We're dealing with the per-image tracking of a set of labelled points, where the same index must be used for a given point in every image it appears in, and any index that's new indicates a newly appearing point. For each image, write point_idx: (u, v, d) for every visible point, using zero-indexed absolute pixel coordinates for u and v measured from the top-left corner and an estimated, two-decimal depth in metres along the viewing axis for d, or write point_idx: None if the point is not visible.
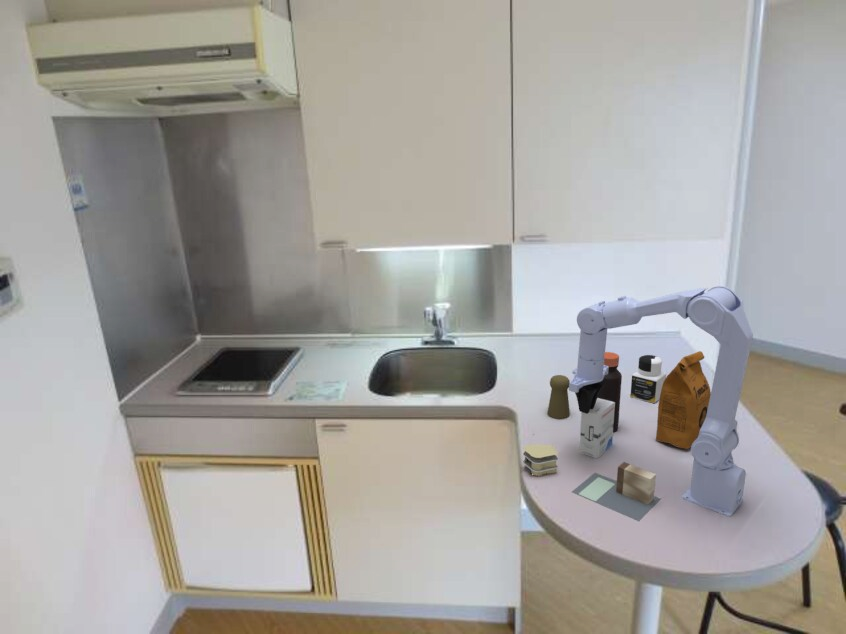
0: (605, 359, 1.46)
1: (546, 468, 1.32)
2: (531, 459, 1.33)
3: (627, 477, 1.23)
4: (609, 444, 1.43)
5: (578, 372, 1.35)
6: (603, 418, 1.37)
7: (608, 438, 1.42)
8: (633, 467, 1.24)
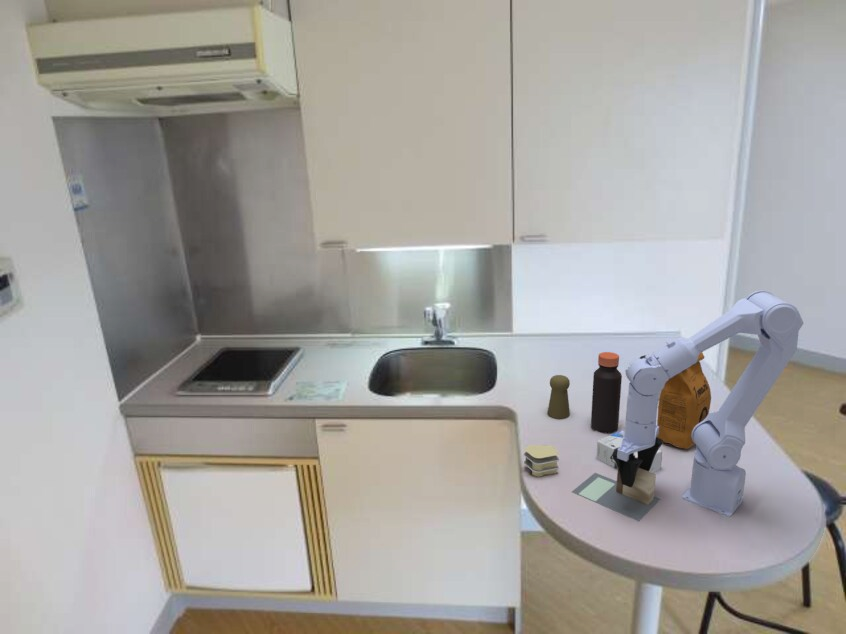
0: (605, 359, 1.46)
1: (547, 468, 1.32)
2: (532, 460, 1.32)
3: None
4: None
5: (626, 436, 1.19)
6: None
7: None
8: None
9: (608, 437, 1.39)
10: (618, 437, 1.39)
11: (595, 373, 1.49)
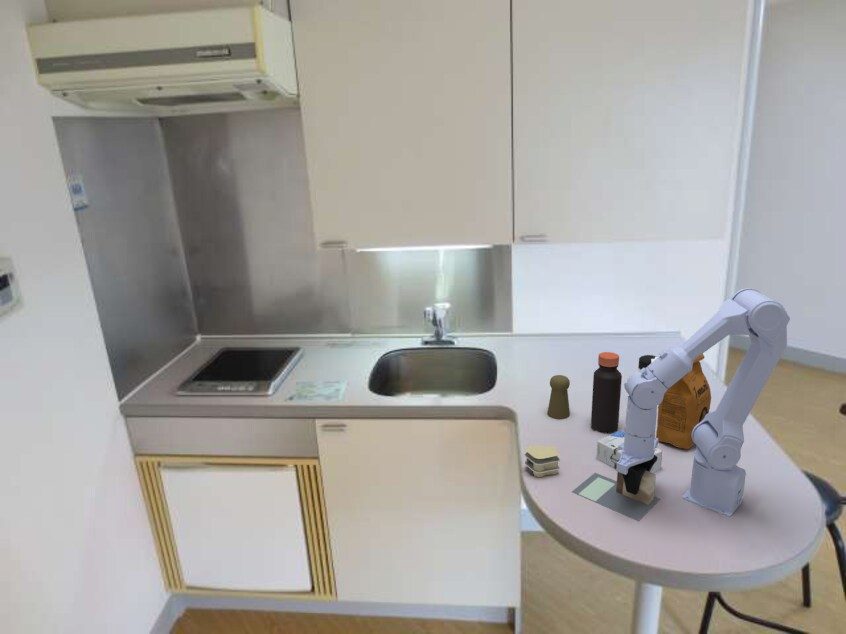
0: (605, 359, 1.46)
1: (548, 469, 1.32)
2: (533, 460, 1.32)
3: None
4: None
5: (625, 449, 1.20)
6: None
7: None
8: None
9: (608, 437, 1.39)
10: (618, 437, 1.39)
11: (595, 373, 1.49)
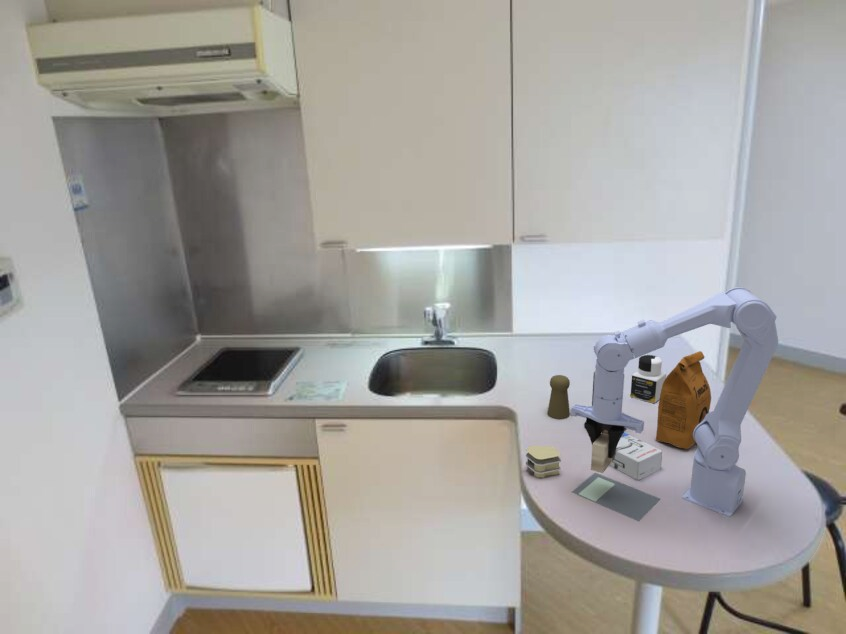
0: None
1: (549, 470, 1.32)
2: (534, 461, 1.32)
3: None
4: None
5: None
6: None
7: None
8: None
9: None
10: None
11: None
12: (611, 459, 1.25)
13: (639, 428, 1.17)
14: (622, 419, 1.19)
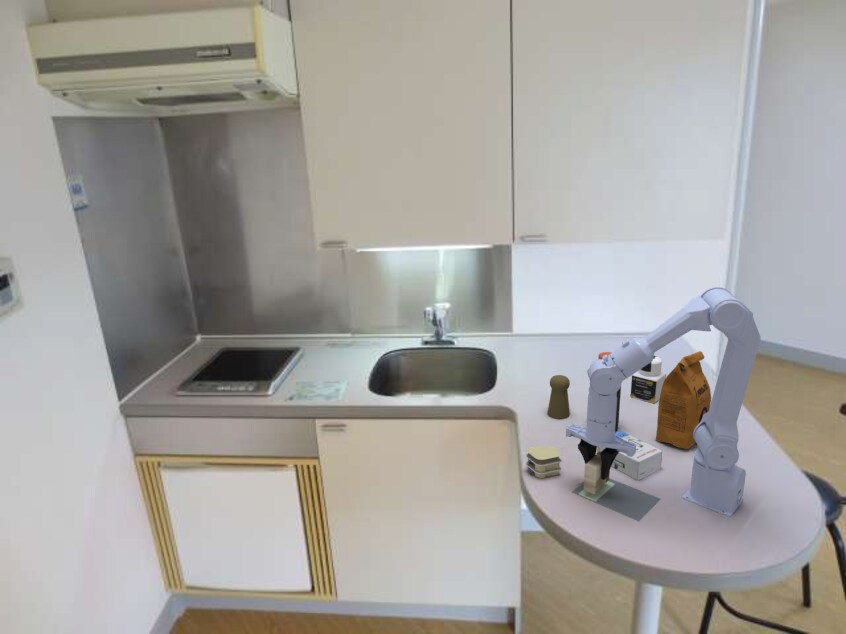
0: None
1: (550, 470, 1.32)
2: (535, 461, 1.32)
3: None
4: None
5: None
6: None
7: None
8: None
9: None
10: None
11: None
12: (605, 480, 1.26)
13: (630, 452, 1.18)
14: (615, 442, 1.21)
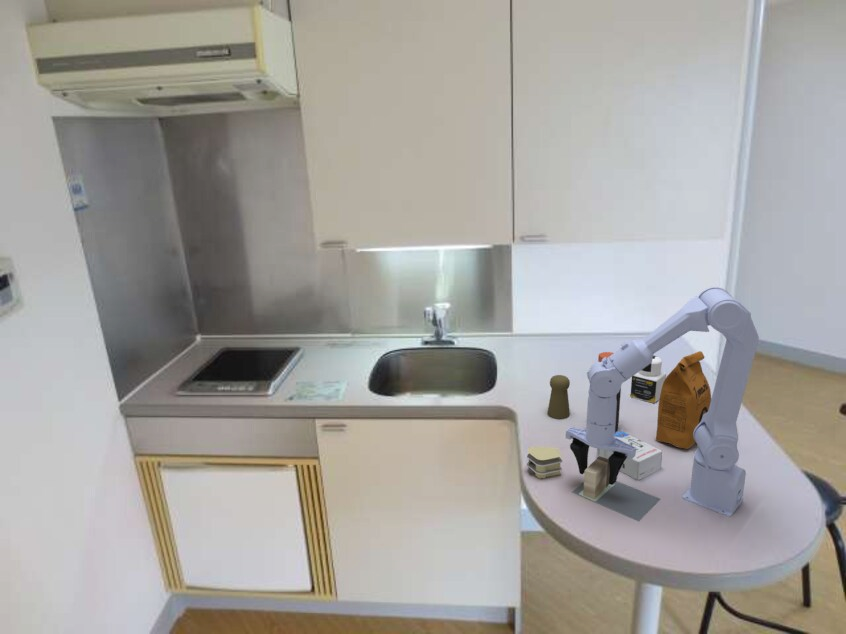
0: None
1: (550, 470, 1.32)
2: (535, 461, 1.31)
3: None
4: None
5: None
6: None
7: None
8: (602, 463, 1.25)
9: None
10: (618, 437, 1.39)
11: None
12: (605, 485, 1.27)
13: (630, 454, 1.19)
14: (614, 444, 1.21)
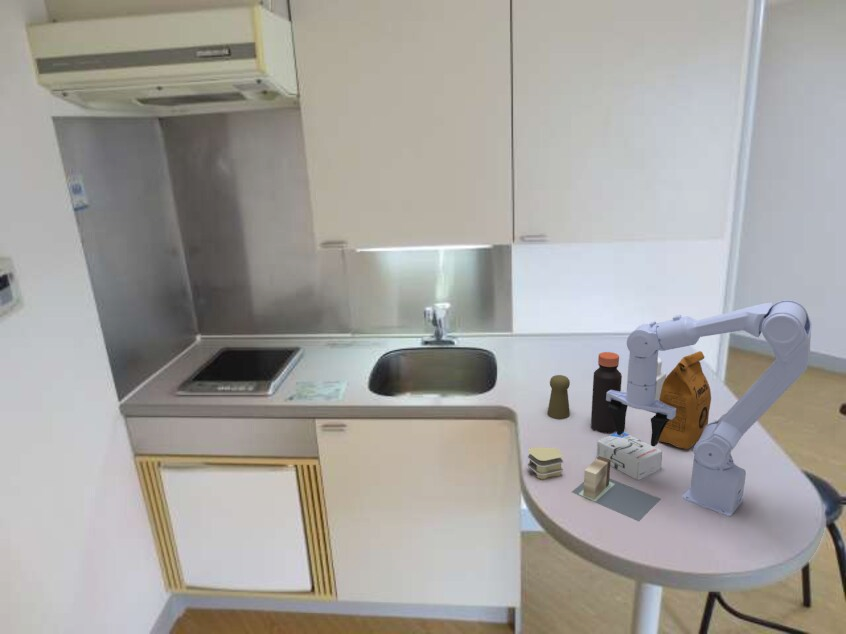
0: (605, 359, 1.46)
1: (551, 471, 1.31)
2: (536, 462, 1.31)
3: None
4: None
5: None
6: None
7: None
8: (602, 463, 1.25)
9: (608, 437, 1.39)
10: (618, 437, 1.39)
11: (595, 373, 1.49)
12: (605, 485, 1.27)
13: (670, 414, 1.21)
14: (655, 405, 1.24)
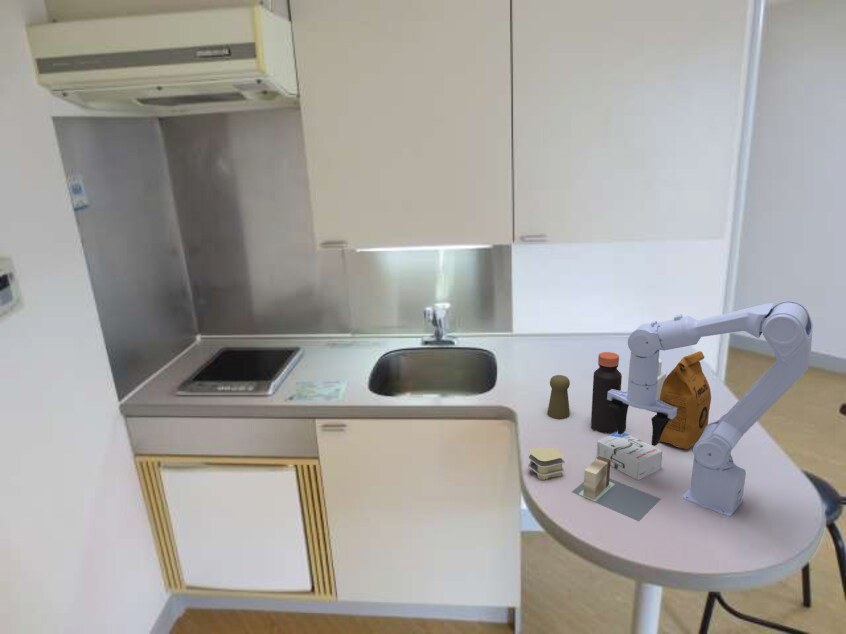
0: (605, 359, 1.46)
1: (552, 471, 1.31)
2: (537, 463, 1.31)
3: None
4: None
5: None
6: None
7: None
8: (602, 463, 1.25)
9: (608, 437, 1.39)
10: (618, 437, 1.39)
11: (595, 373, 1.49)
12: (605, 485, 1.27)
13: (671, 414, 1.21)
14: (655, 405, 1.24)
